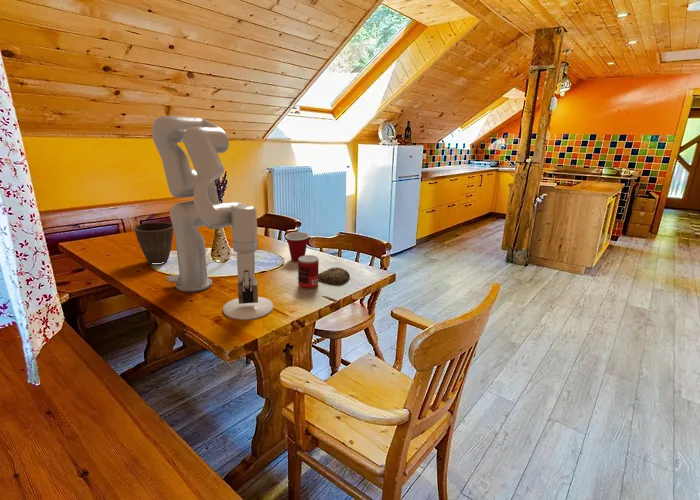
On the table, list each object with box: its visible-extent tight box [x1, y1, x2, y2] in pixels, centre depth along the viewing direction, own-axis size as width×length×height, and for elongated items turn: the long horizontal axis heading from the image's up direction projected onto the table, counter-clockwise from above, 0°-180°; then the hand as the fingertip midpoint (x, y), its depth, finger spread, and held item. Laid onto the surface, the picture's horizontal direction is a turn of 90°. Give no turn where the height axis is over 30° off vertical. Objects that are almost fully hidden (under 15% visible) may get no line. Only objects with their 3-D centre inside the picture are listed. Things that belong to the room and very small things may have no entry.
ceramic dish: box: [222, 296, 274, 321], centre depth 126 cm, size 16×16×1 cm
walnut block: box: [237, 278, 259, 304], centre depth 124 cm, size 6×6×6 cm
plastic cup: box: [285, 231, 310, 263], centre depth 174 cm, size 11×11×12 cm
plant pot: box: [133, 222, 174, 265], centre depth 164 cm, size 15×15×16 cm
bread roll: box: [318, 267, 351, 286], centre depth 154 cm, size 13×12×5 cm
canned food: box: [297, 254, 320, 290], centre depth 145 cm, size 8×8×11 cm
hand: (248, 297), depth 125 cm, fingers closed on walnut block, 6 cm apart
